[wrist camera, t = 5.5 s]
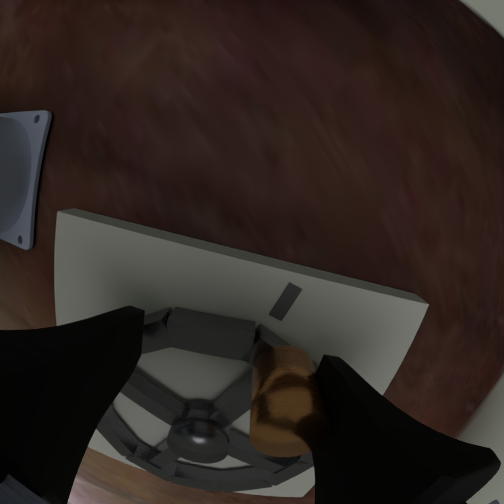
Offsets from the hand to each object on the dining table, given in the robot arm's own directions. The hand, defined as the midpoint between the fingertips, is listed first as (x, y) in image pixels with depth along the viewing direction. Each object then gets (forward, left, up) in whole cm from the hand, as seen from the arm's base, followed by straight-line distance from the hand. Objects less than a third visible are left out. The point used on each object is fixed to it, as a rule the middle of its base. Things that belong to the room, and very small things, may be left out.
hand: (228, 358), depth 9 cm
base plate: (0, -6, -4) cm, 7 cm away
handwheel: (0, -6, -2) cm, 6 cm away
